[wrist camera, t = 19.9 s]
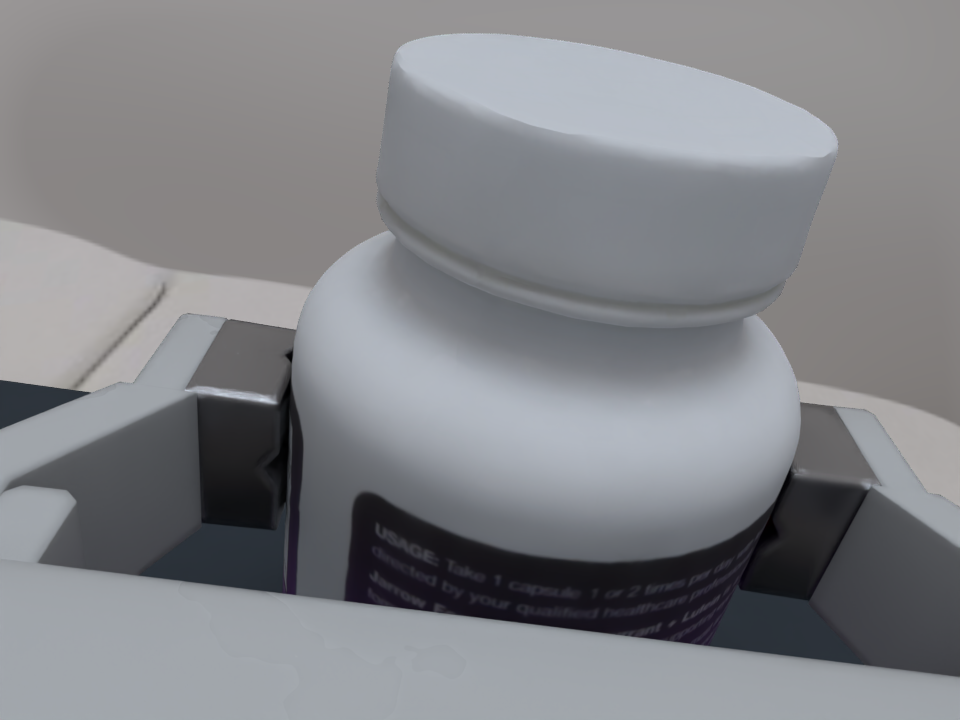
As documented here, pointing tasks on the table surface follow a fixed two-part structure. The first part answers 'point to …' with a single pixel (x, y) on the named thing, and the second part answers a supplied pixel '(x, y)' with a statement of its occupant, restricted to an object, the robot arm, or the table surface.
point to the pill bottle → (555, 343)
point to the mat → (260, 562)
